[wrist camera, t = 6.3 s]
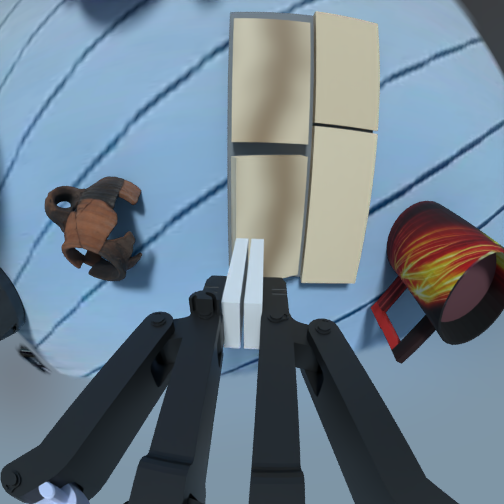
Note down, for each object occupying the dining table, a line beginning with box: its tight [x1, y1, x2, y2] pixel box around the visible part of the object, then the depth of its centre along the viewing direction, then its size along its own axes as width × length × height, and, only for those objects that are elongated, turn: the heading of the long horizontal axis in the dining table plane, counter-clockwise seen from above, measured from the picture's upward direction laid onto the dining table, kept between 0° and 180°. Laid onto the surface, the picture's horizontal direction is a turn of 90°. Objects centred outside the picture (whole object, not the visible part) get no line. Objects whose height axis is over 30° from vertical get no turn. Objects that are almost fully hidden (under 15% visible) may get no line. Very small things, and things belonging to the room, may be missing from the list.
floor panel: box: [228, 12, 380, 283], centre depth 23 cm, size 13×26×2 cm, turn 179°
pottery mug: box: [45, 177, 142, 281], centre depth 25 cm, size 12×10×8 cm
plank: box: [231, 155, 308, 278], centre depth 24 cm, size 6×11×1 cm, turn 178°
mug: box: [371, 201, 504, 363], centre depth 23 cm, size 10×14×12 cm
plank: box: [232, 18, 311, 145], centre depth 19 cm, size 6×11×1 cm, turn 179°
